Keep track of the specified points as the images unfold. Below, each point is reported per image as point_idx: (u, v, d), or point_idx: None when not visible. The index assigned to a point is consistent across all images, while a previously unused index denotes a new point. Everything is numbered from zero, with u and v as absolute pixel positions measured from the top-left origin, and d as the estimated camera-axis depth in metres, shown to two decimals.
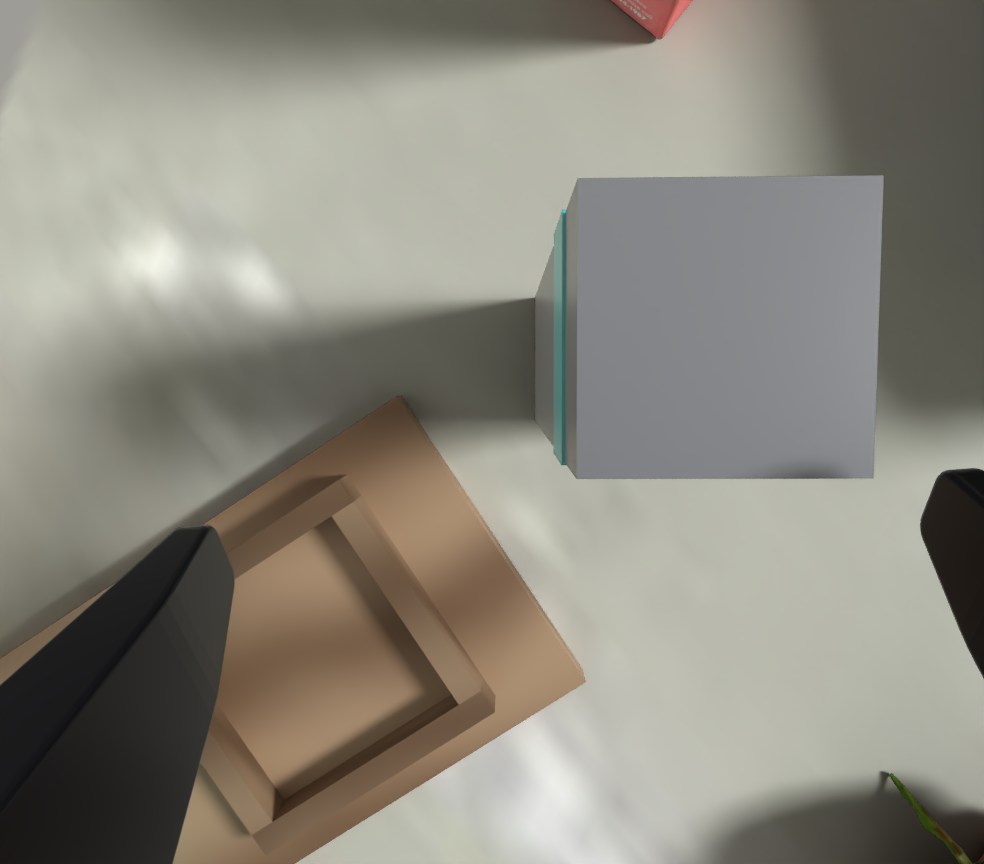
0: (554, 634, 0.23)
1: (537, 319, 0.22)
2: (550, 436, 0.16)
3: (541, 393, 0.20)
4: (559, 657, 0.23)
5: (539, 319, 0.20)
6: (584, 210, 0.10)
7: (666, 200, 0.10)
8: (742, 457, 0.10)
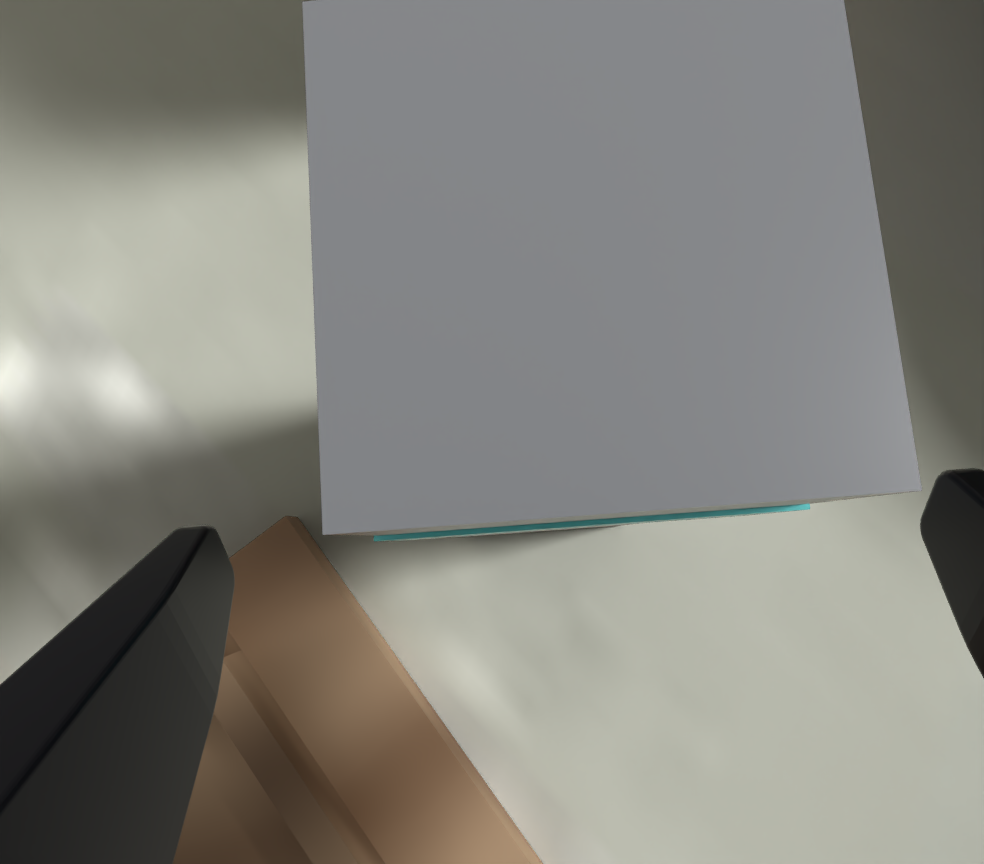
0: (509, 833, 0.17)
1: None
2: None
3: None
4: None
5: None
6: (319, 54, 0.05)
7: (460, 25, 0.05)
8: (649, 466, 0.05)
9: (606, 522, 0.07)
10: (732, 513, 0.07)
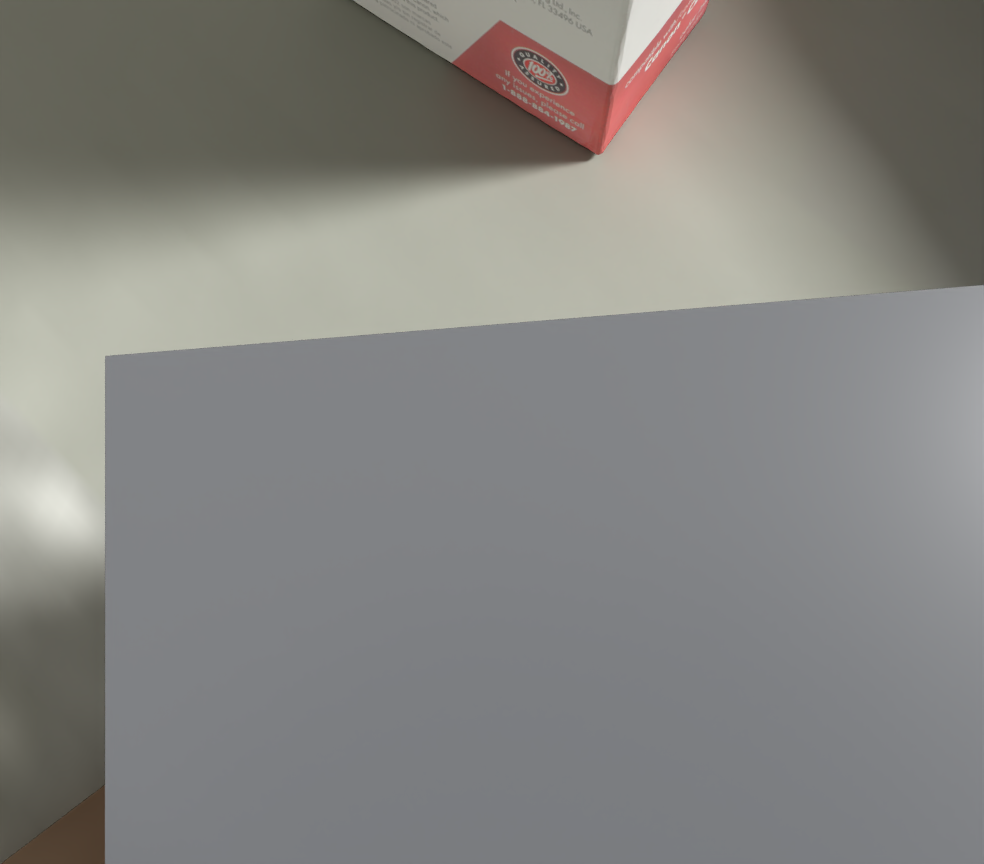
0: None
1: None
2: None
3: None
4: None
5: None
6: (146, 476, 0.02)
7: (465, 416, 0.02)
8: None
9: None
10: None
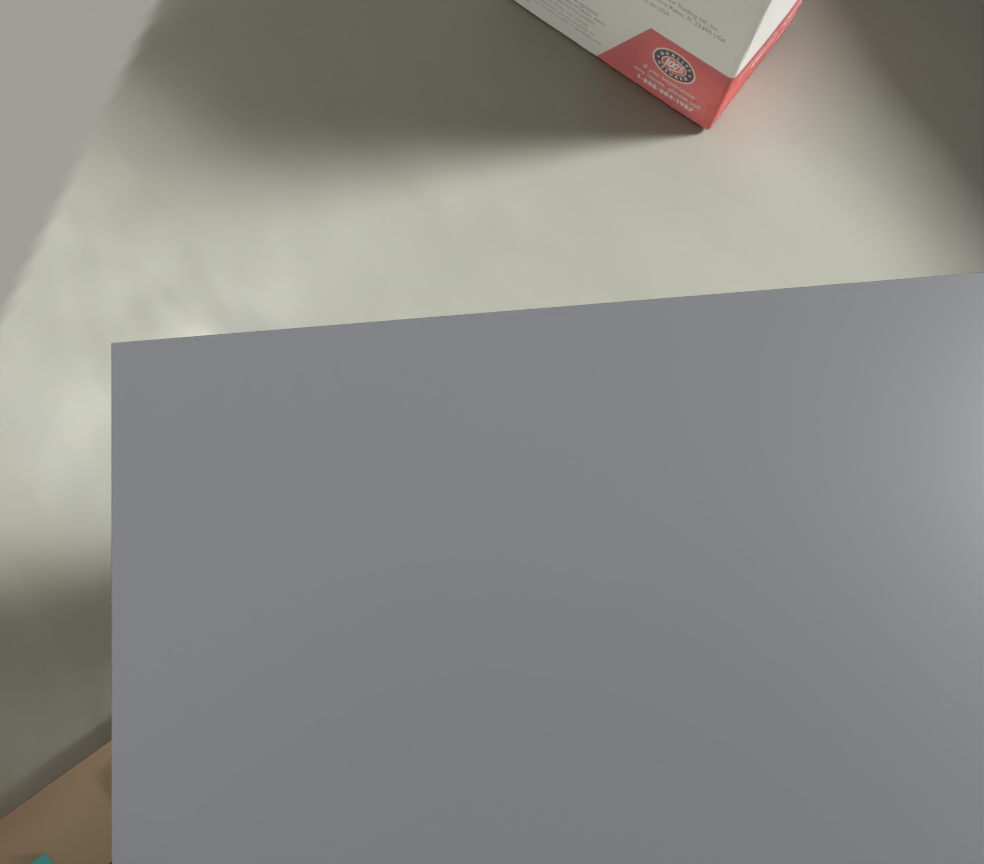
0: None
1: None
2: None
3: None
4: None
5: None
6: (151, 463, 0.02)
7: (471, 403, 0.02)
8: None
9: None
10: None
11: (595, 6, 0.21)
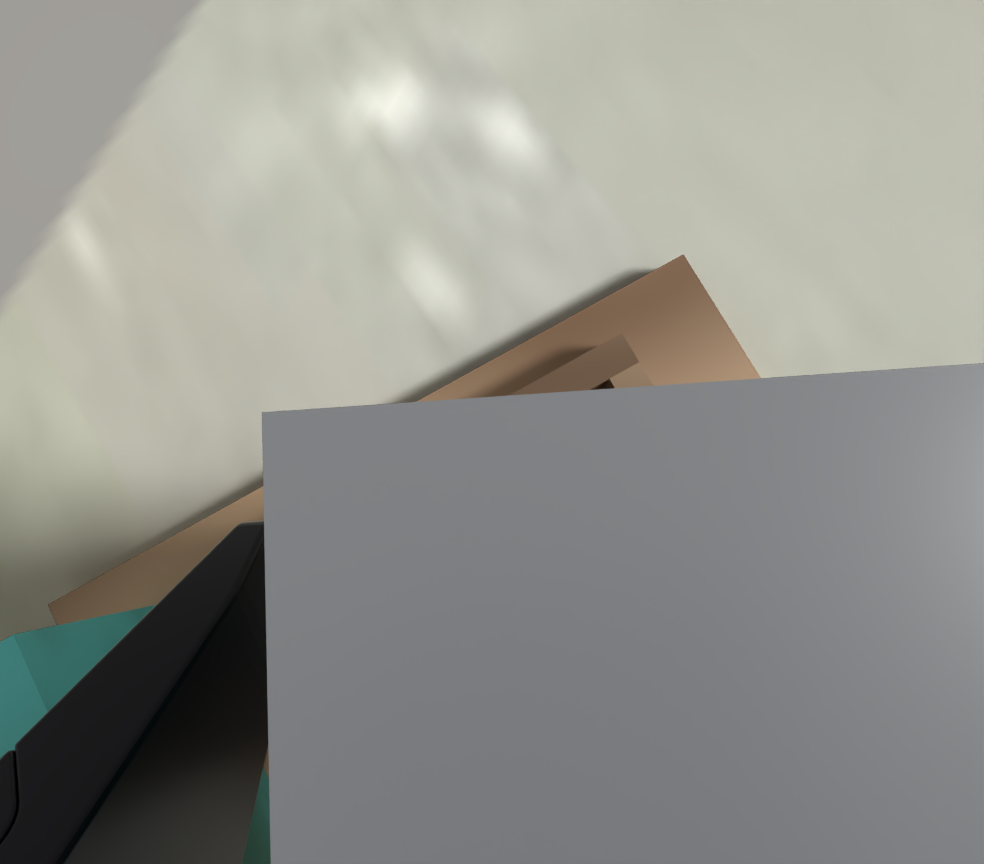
0: None
1: None
2: None
3: None
4: None
5: None
6: (286, 487, 0.04)
7: (486, 452, 0.04)
8: None
9: None
10: None
11: None
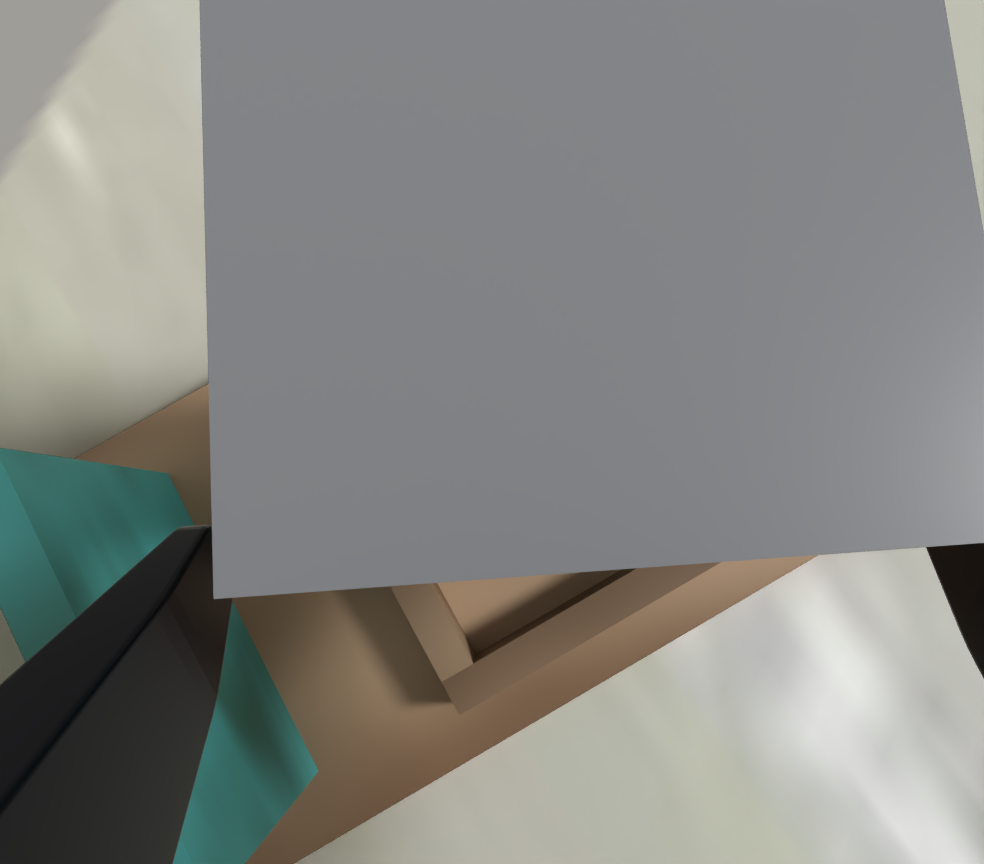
0: None
1: None
2: None
3: None
4: None
5: None
6: None
7: None
8: (660, 505, 0.04)
9: None
10: None
11: None
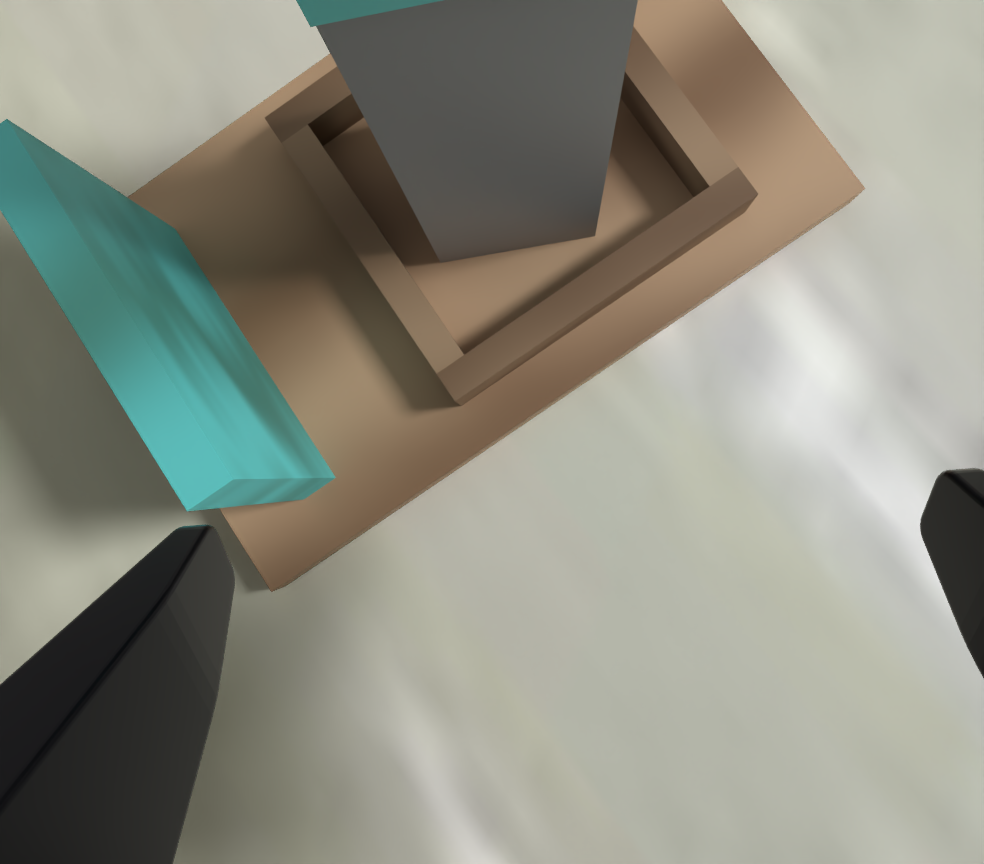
0: (819, 132, 0.18)
1: None
2: None
3: None
4: (828, 158, 0.18)
5: None
6: None
7: None
8: None
9: None
10: None
11: None
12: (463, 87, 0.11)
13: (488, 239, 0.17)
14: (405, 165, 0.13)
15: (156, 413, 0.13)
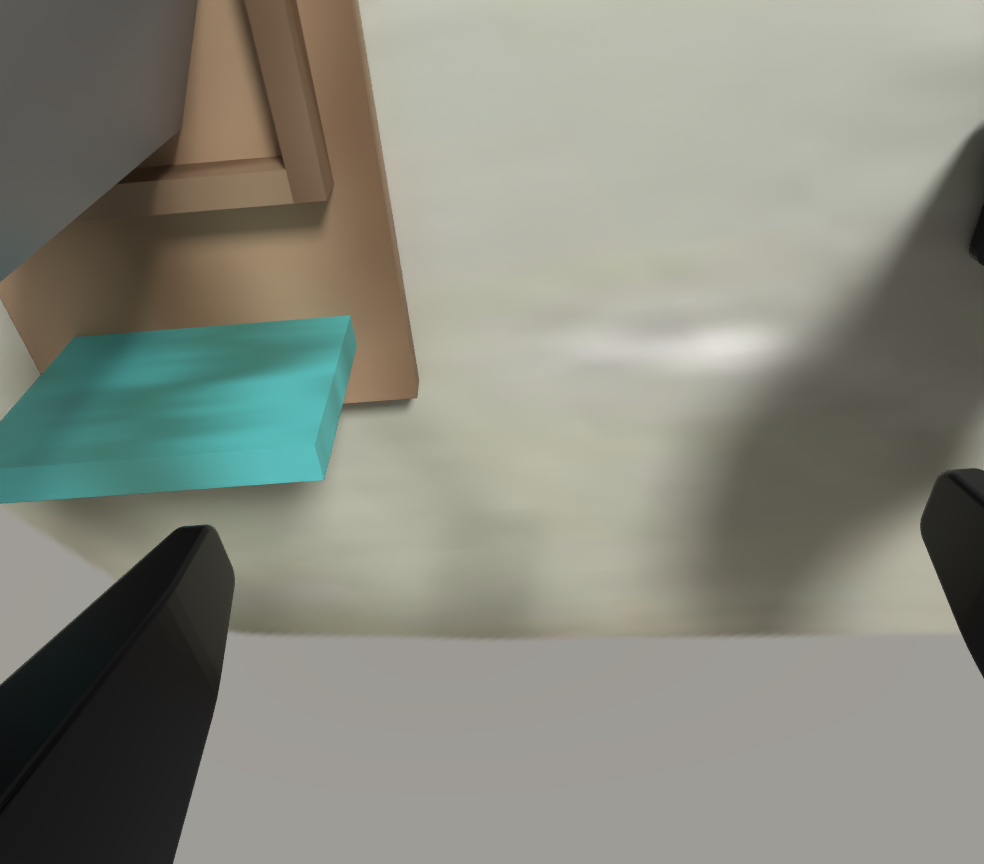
0: None
1: None
2: None
3: None
4: None
5: None
6: None
7: None
8: None
9: None
10: None
11: None
12: (17, 169, 0.10)
13: (172, 82, 0.16)
14: (78, 202, 0.13)
15: (241, 470, 0.16)
